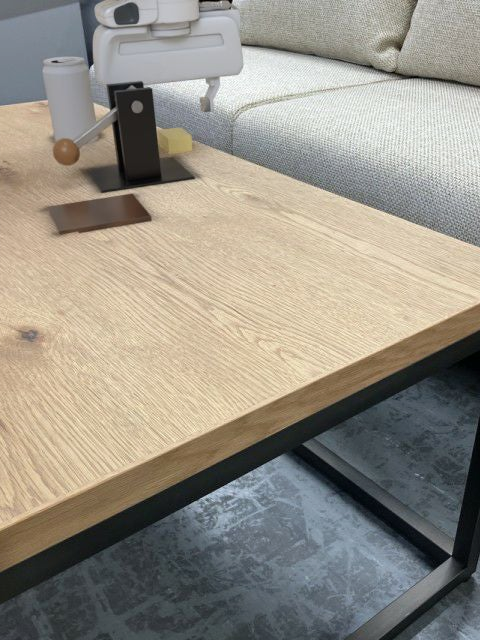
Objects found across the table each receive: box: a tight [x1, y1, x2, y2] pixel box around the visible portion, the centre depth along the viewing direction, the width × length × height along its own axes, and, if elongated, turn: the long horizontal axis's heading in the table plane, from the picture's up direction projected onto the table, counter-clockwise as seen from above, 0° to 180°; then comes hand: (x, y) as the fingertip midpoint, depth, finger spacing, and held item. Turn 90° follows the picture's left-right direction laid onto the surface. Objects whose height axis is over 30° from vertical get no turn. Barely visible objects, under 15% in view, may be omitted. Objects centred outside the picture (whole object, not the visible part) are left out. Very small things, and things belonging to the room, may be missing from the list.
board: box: [46, 193, 152, 235], centre depth 79 cm, size 10×8×2 cm
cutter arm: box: [52, 85, 136, 167], centre depth 86 cm, size 13×3×3 cm
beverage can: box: [42, 56, 100, 145], centre depth 102 cm, size 6×6×12 cm
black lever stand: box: [85, 81, 195, 194], centre depth 88 cm, size 12×9×12 cm
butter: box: [157, 126, 194, 155], centre depth 101 cm, size 4×5×3 cm
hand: (175, 115), depth 98 cm, fingers open, 8 cm apart
